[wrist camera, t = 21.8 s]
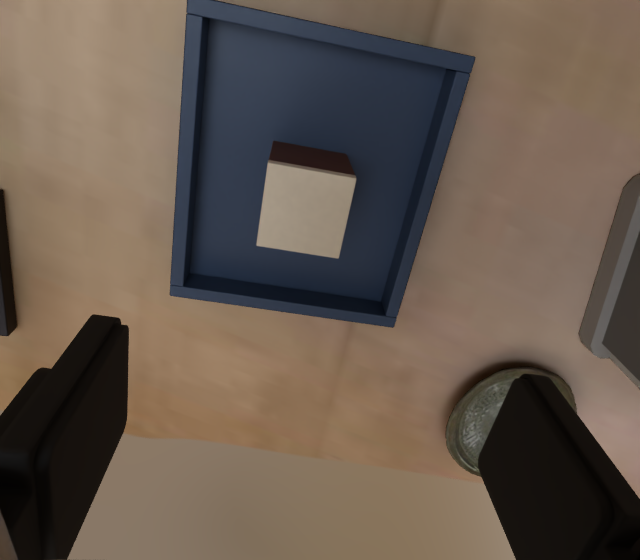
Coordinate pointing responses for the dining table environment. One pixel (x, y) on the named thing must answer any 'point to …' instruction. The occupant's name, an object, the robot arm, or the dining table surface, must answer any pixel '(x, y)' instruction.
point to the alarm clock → (618, 291)
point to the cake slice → (306, 200)
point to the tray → (311, 131)
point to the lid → (486, 413)
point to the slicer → (5, 279)
